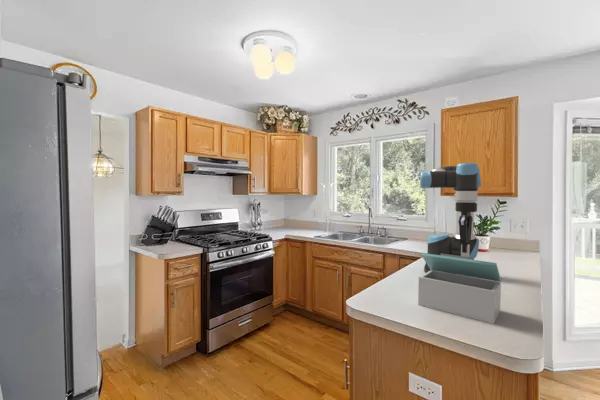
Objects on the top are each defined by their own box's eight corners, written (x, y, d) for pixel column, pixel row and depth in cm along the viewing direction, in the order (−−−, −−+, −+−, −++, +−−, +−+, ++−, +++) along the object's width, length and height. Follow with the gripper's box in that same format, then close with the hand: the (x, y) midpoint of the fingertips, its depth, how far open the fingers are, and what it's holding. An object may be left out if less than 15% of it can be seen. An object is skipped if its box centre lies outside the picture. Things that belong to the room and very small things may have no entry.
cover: (430, 269, 135) (431, 265, 136) (500, 281, 118) (501, 277, 118) (421, 254, 125) (422, 250, 126) (496, 265, 107) (496, 260, 108)
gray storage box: (430, 295, 136) (431, 270, 136) (500, 310, 118) (500, 282, 118) (418, 304, 124) (418, 277, 124) (493, 323, 106) (494, 291, 106)
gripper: (459, 201, 124) (458, 256, 125) (451, 201, 114) (450, 261, 115) (480, 201, 119) (478, 259, 120) (473, 202, 109) (472, 264, 110)
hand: (464, 260), depth 117 cm, fingers closed
